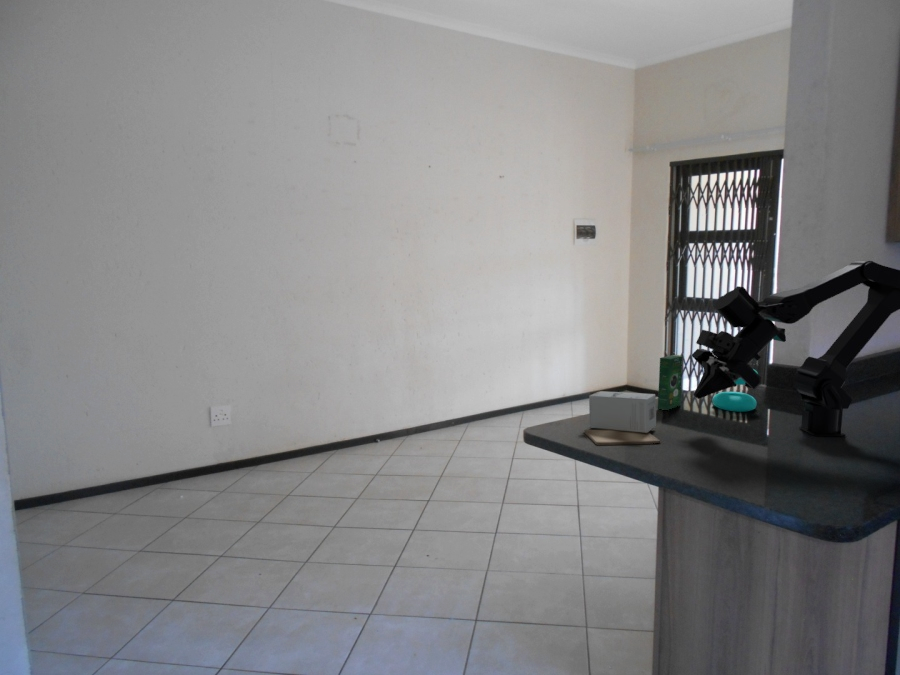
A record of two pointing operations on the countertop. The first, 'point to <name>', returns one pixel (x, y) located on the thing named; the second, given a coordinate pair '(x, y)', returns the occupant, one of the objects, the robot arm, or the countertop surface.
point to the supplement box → (622, 411)
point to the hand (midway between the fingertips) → (695, 397)
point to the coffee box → (670, 382)
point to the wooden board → (620, 437)
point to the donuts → (735, 400)
